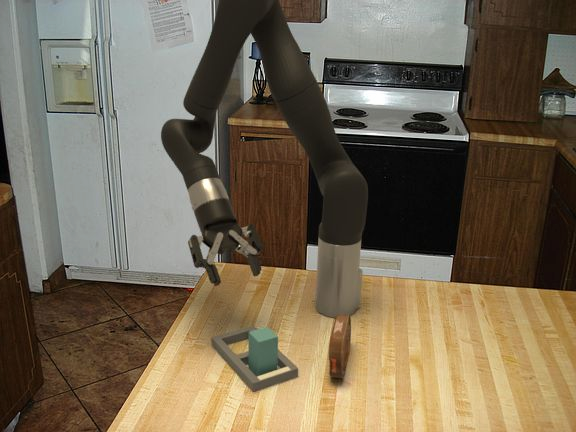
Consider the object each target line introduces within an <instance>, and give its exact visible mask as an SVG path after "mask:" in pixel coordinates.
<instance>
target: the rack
mask: <svg viewBox="0 0 576 432" xmlns="http://www.w3.org/2000/svg"><path fill="white" fill-rule="evenodd" d="M257 329H258V328H257V327H256V326H254V324H252V325H248V326H246V327H242V328H237V329H235V330H232V331H228V332H223V333H221V334H217V335H214V336H211V337H210V342H211V343H210V344H211V346H212V347H213V348H214V350H215V351H216V352H217V353H218V354H219V356H220V357H221V358H222V359H223V360H224V361H225V362H226V364H228V365H229V366H230V368H231V369H232V370H233V371H234V373H236V374H237V376H238V378H240V379H241V380H242V381H243V383H244V384H245V385H246V386H247V387H248V388H249V389H250V390H251V391H252V393H254V392H257V391H261V390H264V389H266V388H269V387H272V386H275V385H277V384H280V383H283V382H286V381H289V380H292V379H295V378H298V377H299V367H298V366H296V364H294V363H293V362H292V361H291V360H290V359H289V357H287V356H286V355H285V354H284V353H283V352H282V351H281V350H280V349H279V348H278V364H277V367H278V368H277V370H275V371H272V372H269V373H266V374H263V375H260V376H257V377H256V376H255V375H254V374H253V372H252V371H251V370H250V369H249V368H248V351H245V352H244V351H243V352H241V353H238V354H236V353H235V352H234V351H233V350H232V348H231V347H230V346H229V345H231V344H235V343H238V342H241V341H245V340H249V332H250V331H254V330H257Z"/></svg>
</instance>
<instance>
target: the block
mask: <svg viewBox="0 0 576 432" xmlns="http://www.w3.org/2000/svg"><path fill="white" fill-rule="evenodd" d="M247 340H248V364H247V367H248V368H249V369H250V370H251V371H252V372H253V374H254V375H255V376H256V377H257V376H260V375H263V374H266V373H269V372H272V371H275V370H278V365H277V364H278V349H279V335H277V334H276V333H275V332H274V331H273V330H272V329H271V328H270V327H269V326H265V327H261V328H257V330H254V331H250V332H249V338H248V339H247Z"/></svg>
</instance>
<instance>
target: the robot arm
mask: <svg viewBox="0 0 576 432" xmlns="http://www.w3.org/2000/svg"><path fill="white" fill-rule="evenodd" d="M284 13H285V12H284V11H283V8H282V5H281V2H280V0H218V3H217V8H216V13H215V18H214V22H213V26H212V28H211V32H210V35H209V37H208V38H209V39H208V41H207V44H206V46H205V49H204V51H203V54H202V56H201V58H200V60H199V63H198V65H197V67H196V70H195V72H194V74H193V76H192V78H191V80H190V83H189V85H188V88H187V89H186V90H187V91H186V93H185V95H184V97H183V101H182V103H183V104H182V105H183V108H184V109H185V111H186V112H187V113H188V114H190V115H191V116H194V118H193V119H185V118H170V119H168V120H167V121H165V122H164V123H163V126H162V128H161V131H160V140H161V144H162V146H163V149H164V151H165V152H166V154H167V156H168V157H169V158H170V160H171V161H172V163H173V164H174V166H175V167H176V168H177V170H178V171H179V173H180V174H181V175H182V179H183V182H184V184H185V187H186V190H187V193H188V197H189V202H190V205H191V210H192V211H193V214H194V217H195V220H196V222H197V225H198V228H199V231H200V233H201V235H198V236H197V235H196V234H192V235H191V236H190V237H189V239H188V241H187V244H188V248H189V251H190V255H191V260H192V262H193V265H194V268H196V269H199V268H202V269H204V270H205V271H206V273H207V277H208V280H209V282H210V283H211V284H212V285H213V286H214V287H217V286H220V284H221V283H222V280H221V278H220V275H219V272H218V268H217V265H216V264H214V263H215V258H216V256H217V255H223V254H225V253H233V252H234V251H236V252H237V253H238V254H242V255H243V256H244V257H246V258H247V262H248V265H249V267H250V270H251V273H252V276H253V277H258V276H259V275H260V274H261V271H262V265H261V263H260V261H259V257H258V255H259V254H260V253H261V252H262V251H263V250H264V248H265V246H264V244H263V242H262V240H261V237H260V236H259V233H258V231H257V228H256V226H255V224H254V223H249V224H248V225H247V226H244V227H241V226H240V225H239V224H238V220H237V217H236V214H235V212H234V208H233V206H232V204H231V200H230V198H229V196H228V192H227V189H226V188H225V186H224V184H223V181H222V180H221V177H220V174H219V173H218V169H217V167H216V164H215V162H214V159H212V158H211V157H209V156H207V155H205V154H201V153H204V152H205V151H207V150H208V149H209V147H210V146H211V144H212V141H213V138H214V131H215V125H216V124H215V123H216V118H217V111H218V109H219V108H220V105H221V102H222V101H223V99H224V96H225V95H226V92H227V90H228V87H229V84H230V81H231V79H232V75H233V73H234V69H235V65H236V62H237V59H238V58H239V55H240V52H241V50H242V48H243V46H244V44H245V42H247V40H248V38H249V37H250V35H251V36H252V38H253V41H254V43H255V44H256V46H257V47H256V48H258V53H259V54H260V59H261V62H262V66H263V71H264V76H265V79H266V82H267V86H268V89H269V91H270V94H271V96H272V98H273V102H274V103H275V106H276V107H277V108H278V111H279V113H280V115H281V117H282V119H283V120H284V122H285V123H286V124H287V127H288V128H289V130H290V131H291V133H292V134H293V136H294V137H295V138H296V140H297V141H298V143H299V144H300V145H301V147H302V148H303V150H304V151H305V153H306V156H307V158H308V160H309V163H310V165H311V167H312V169H313V170H312V171H313V173H314V175H315V178H316V180H317V181H316V182H317V184H318V188H319V191H320V193H321V195H322V197H323V199H322V201H323V203H322V214H321V215H322V216H321V217H322V218H321V222H320V224H319V225H318V242H317V243H318V245H317V262H316V264H317V265H316V278H315V279H316V280H315V281H316V283H315V303H314V307H315V310H316V311H317V312H318V313H320V314H321V315H323V316H325V317H330V318H336V316H337V315H350V316H352V315H353V314H355V312H357V310H359V309H361V307H360V306H361V299H362V284H363V282H362V281H363V269H361V268H360V262H361V249H362V248H361V247H362V238H363V237H362V235H363V232H364V229H365V226H366V219H367V212H368V211H367V210H368V200H369V188H368V183H367V180H366V179H365V177H364V176H363V174H362V173H361V172H360V170H358V167H356V165H355V164H354V163H353V161H352V159H351V158H350V157H349V155H348V154H347V152H346V150H345V149H344V147H343V145H342V144H341V142H340V140H339V138H338V135H337V133H336V131H335V126H334V122H333V120H332V115H331V112H330V109H329V106H328V103H327V101H326V98H325V95H324V94H323V91H322V90H321V87H320V84H319V83H318V81H317V77H315V75H314V73H313V70H312V69H311V67H310V65H309V63H308V61H307V59H306V57H305V55H304V53H303V51H302V50H301V48H300V46H299V44H298V42H297V40H296V39H295V36H294V35H293V33H292V31H291V29H290V27H289V24H288V21H287V19H286V16H285V14H284ZM243 235H244V237H245V238H247V239H248V241H247V240H245V239H244V238H243V237H242V236H243ZM202 243H203V245H205V246H206V247H207V248H209V249H208V252H207V255H206V257H205V258H204V257H203V252H202V250H201V246H202Z"/></svg>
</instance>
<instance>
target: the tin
mask: <svg viewBox="0 0 576 432" xmlns="http://www.w3.org/2000/svg"><path fill="white" fill-rule="evenodd" d="M334 318H335V319H334V323H333V325H332V329H331V335H330V339H329V345H328V347H329V348H328V360H329V371H328V374H329V376H330V377H331V378H337V379H342V380H343V379H344V378H345V376H346V372H347V366H348V362H349V356H350V350H351V339H352V338H351V337H352V336H351V335H352V316H351V315H337V316H336V317H334Z"/></svg>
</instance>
